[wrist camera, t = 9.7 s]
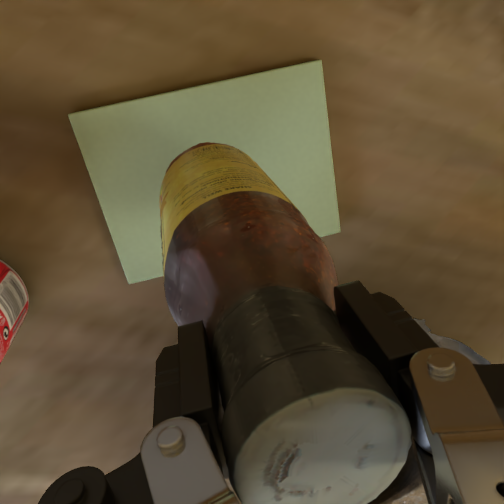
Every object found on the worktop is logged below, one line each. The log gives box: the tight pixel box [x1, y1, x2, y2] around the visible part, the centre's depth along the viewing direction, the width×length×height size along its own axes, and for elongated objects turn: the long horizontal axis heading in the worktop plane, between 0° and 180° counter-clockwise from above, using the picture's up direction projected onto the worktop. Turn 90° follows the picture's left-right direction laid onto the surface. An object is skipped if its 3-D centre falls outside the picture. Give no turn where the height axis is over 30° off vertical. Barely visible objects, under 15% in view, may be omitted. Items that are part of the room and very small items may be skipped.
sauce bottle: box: [159, 142, 412, 504], centre depth 18 cm, size 7×6×20 cm
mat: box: [68, 60, 341, 284], centre depth 30 cm, size 16×12×1 cm
